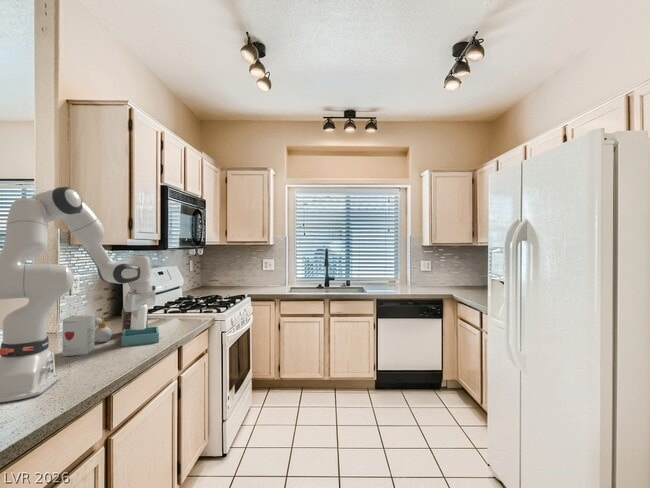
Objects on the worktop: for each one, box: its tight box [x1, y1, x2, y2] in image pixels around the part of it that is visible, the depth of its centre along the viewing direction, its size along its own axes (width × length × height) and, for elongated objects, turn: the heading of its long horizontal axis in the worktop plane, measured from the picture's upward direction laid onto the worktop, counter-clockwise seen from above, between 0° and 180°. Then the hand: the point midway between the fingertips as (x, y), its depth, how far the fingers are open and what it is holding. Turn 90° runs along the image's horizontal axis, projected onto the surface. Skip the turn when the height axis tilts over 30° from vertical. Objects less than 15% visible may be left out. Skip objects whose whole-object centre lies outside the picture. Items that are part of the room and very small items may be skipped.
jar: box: [121, 307, 149, 334], centre depth 180 cm, size 12×12×15 cm
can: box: [130, 303, 147, 330], centre depth 165 cm, size 6×6×12 cm
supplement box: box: [61, 314, 95, 357], centre depth 147 cm, size 9×9×15 cm
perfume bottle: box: [94, 316, 113, 344], centre depth 162 cm, size 8×10×12 cm
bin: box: [121, 325, 160, 347], centre depth 165 cm, size 15×15×4 cm
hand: (140, 317), depth 165 cm, fingers closed on can, 5 cm apart
